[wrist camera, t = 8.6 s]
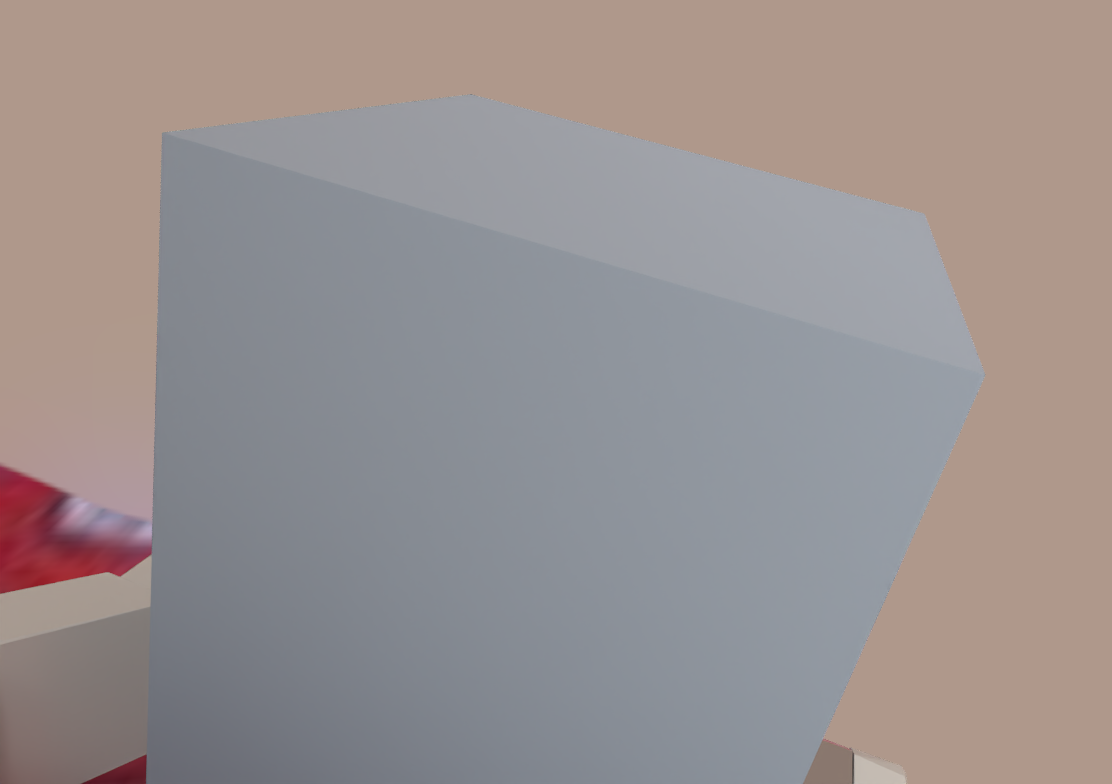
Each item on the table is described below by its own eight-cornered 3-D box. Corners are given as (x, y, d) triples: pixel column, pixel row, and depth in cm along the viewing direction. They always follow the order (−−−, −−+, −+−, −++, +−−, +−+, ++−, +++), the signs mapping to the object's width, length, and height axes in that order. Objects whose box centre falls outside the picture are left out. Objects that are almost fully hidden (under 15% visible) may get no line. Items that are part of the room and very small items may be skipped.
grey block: (135, 1223, 10) (161, 131, 5) (343, 886, 14) (470, 94, 9) (508, 1440, 9) (984, 374, 4) (617, 1013, 13) (924, 213, 8)
